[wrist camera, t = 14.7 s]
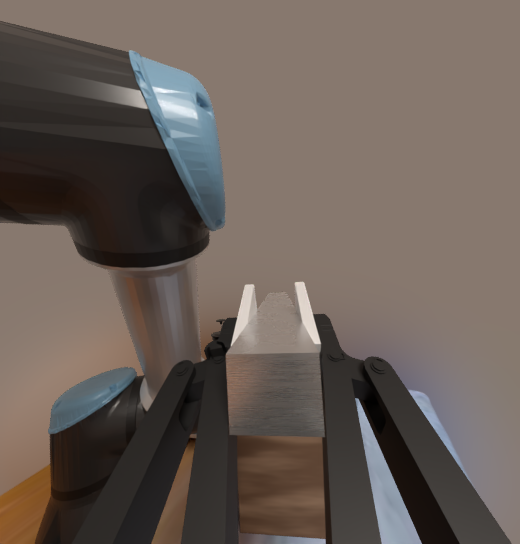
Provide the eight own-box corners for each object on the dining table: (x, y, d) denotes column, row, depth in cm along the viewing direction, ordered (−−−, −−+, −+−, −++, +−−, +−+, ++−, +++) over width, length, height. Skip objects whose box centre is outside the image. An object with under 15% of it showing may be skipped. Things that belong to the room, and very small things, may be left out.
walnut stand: (345, 540, 29) (332, 351, 30) (240, 532, 30) (231, 353, 31) (321, 447, 45) (313, 325, 46) (253, 445, 46) (247, 327, 47)
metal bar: (324, 436, 7) (319, 352, 7) (229, 435, 7) (225, 354, 7) (287, 306, 39) (286, 291, 39) (270, 307, 39) (269, 292, 39)
